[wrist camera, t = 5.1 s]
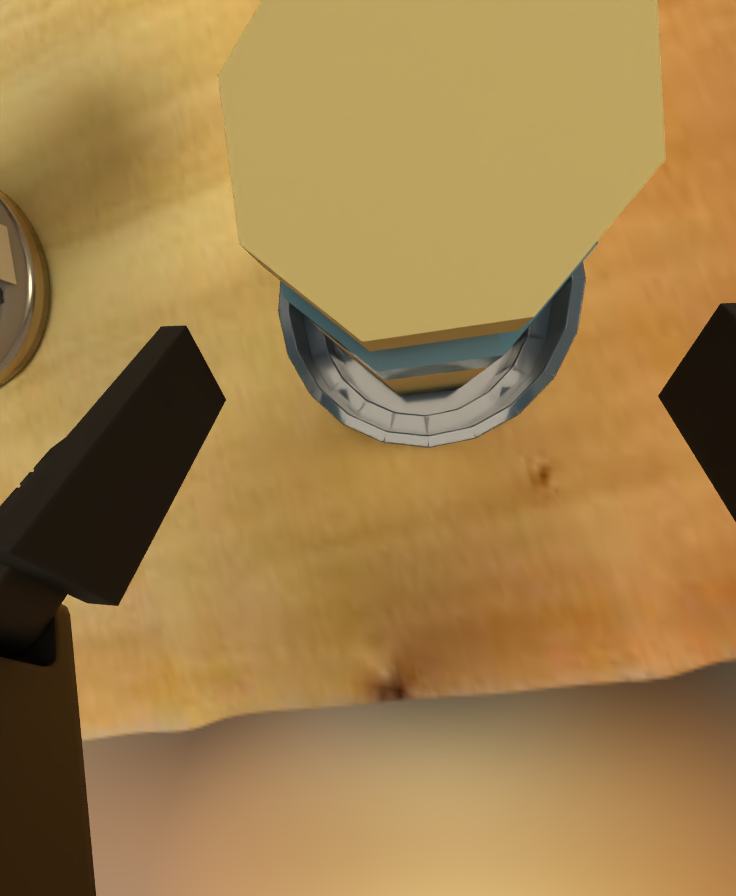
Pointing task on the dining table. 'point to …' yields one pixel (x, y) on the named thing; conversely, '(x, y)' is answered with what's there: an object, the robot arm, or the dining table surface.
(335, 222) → the jar
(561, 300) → the grey round bowl
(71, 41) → the dining table surface
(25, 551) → the robot arm
